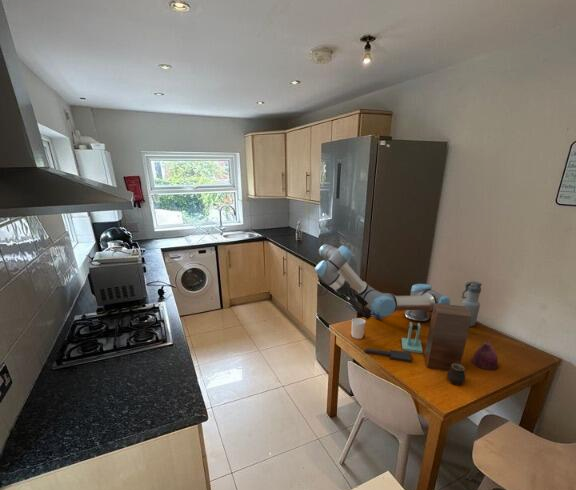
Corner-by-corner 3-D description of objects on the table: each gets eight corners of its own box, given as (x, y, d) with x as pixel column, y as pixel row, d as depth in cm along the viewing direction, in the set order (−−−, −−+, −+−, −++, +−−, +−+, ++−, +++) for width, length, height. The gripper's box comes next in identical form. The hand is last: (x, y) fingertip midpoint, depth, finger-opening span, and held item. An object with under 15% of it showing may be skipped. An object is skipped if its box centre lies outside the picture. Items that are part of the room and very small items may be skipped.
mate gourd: (456, 375, 143) (460, 357, 140) (468, 386, 136) (472, 367, 133) (442, 377, 142) (446, 359, 139) (453, 387, 135) (457, 369, 132)
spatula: (365, 348, 166) (365, 345, 166) (409, 355, 160) (410, 352, 159) (364, 355, 160) (364, 352, 159) (410, 362, 154) (411, 359, 153)
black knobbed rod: (407, 329, 177) (408, 323, 178) (414, 330, 176) (414, 324, 177) (411, 330, 163) (411, 323, 163) (418, 331, 162) (418, 324, 162)
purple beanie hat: (483, 376, 148) (488, 354, 140) (467, 362, 157) (470, 340, 149) (501, 368, 149) (506, 346, 142) (484, 355, 158) (488, 333, 151)
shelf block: (424, 354, 160) (434, 303, 150) (453, 359, 156) (465, 306, 146) (427, 367, 149) (437, 312, 139) (458, 372, 145) (471, 316, 135)
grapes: (365, 318, 201) (367, 302, 197) (369, 315, 206) (371, 298, 202) (382, 323, 195) (384, 306, 190) (386, 319, 200) (388, 303, 195)
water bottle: (454, 321, 197) (462, 281, 188) (464, 318, 201) (473, 279, 191) (468, 328, 189) (478, 286, 179) (478, 325, 192) (488, 283, 183)
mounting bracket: (401, 339, 175) (404, 318, 170) (420, 342, 172) (423, 320, 167) (402, 350, 164) (406, 328, 159) (422, 353, 161) (426, 330, 156)
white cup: (358, 340, 174) (359, 325, 170) (347, 335, 179) (349, 320, 176) (366, 336, 178) (368, 321, 175) (356, 331, 184) (357, 316, 181)
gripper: (334, 279, 167) (359, 304, 172) (335, 300, 145) (364, 328, 150) (344, 271, 164) (370, 296, 169) (346, 291, 142) (376, 319, 147)
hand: (367, 311), depth 159 cm, fingers open, 13 cm apart
